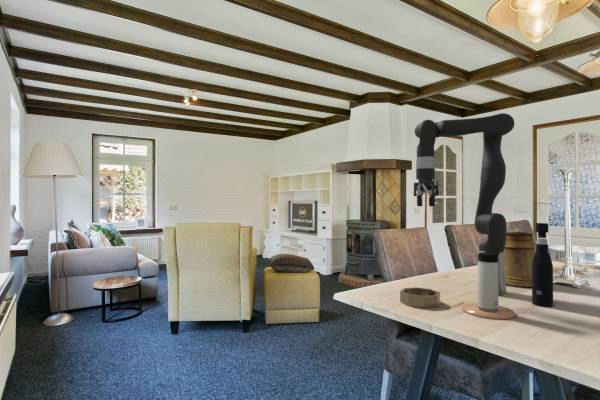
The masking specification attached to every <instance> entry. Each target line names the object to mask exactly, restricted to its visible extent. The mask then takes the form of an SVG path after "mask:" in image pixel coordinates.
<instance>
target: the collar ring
mask: <svg viewBox="0 0 600 400" xmlns="http://www.w3.org/2000/svg"><path fill="white" fill-rule="evenodd" d="M399 298H400V300H399V302H400V303H402V304H403V305H406V306H407V307H413V308H419V309H430V308H438V307H439V306H440V304H441V292H440V291H436V290H434V289H432V288H425V287H424V288H423V287H405V288H403V289H401V290H400V291H399Z"/></svg>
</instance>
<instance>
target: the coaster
mask: <svg viewBox="0 0 600 400" xmlns="http://www.w3.org/2000/svg"><path fill="white" fill-rule="evenodd" d="M461 308H462V310H461V311H463V312H464V313H466V314H468V315H469V316H470V315H471V316H474V317H478V318H482V319H488V320H489V319H490V320H499V321H500V320H510V319H513V318H515V317H516V312H515V311H514V310H513V309H511V308H509V307H505V306H501V305H499V304H498V311H497V312H486V311H482V310H479V309H478V302H470V303H469V302H468V303H465V304H462V306H461Z"/></svg>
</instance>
